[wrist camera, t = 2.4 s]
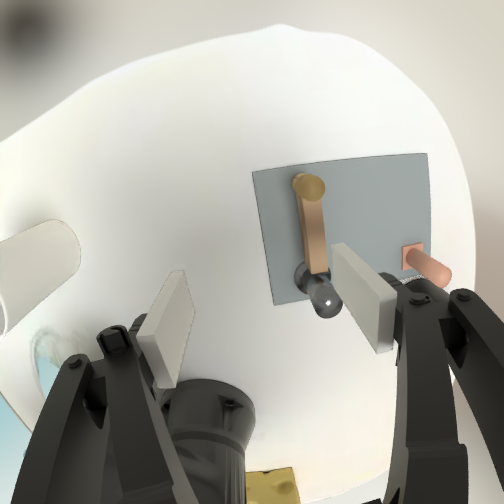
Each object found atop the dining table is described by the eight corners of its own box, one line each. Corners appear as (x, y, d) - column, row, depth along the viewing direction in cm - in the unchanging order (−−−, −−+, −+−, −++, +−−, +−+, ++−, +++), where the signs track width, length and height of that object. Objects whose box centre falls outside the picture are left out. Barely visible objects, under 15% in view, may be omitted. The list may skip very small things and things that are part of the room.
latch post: (400, 268, 36) (431, 294, 28) (400, 245, 35) (434, 267, 27) (419, 263, 36) (452, 287, 28) (420, 241, 35) (455, 261, 27)
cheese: (243, 471, 49) (244, 510, 40) (294, 465, 49) (301, 503, 39) (251, 489, 52) (252, 524, 43) (297, 484, 52) (302, 518, 43)
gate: (322, 259, 33) (333, 274, 29) (302, 262, 33) (310, 278, 29) (312, 171, 30) (323, 174, 26) (290, 174, 30) (298, 177, 26)
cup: (39, 211, 32) (-46, 247, 16) (85, 231, 33) (4, 282, 18) (32, 265, 34) (-39, 316, 19) (76, 287, 35) (10, 353, 20)
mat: (274, 304, 36) (274, 305, 36) (252, 172, 32) (252, 172, 31) (428, 271, 36) (429, 272, 36) (425, 153, 31) (427, 153, 31)
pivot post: (295, 294, 36) (308, 329, 29) (291, 260, 35) (305, 290, 27) (330, 287, 36) (350, 320, 28) (327, 254, 35) (349, 281, 27)
